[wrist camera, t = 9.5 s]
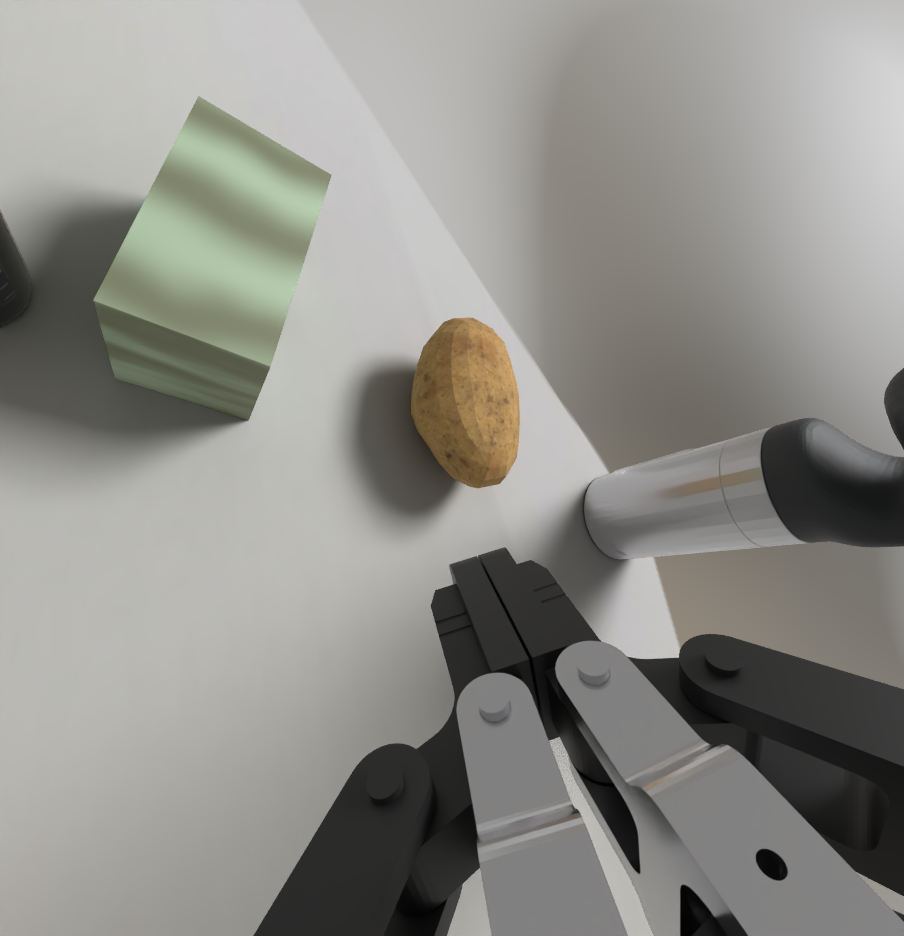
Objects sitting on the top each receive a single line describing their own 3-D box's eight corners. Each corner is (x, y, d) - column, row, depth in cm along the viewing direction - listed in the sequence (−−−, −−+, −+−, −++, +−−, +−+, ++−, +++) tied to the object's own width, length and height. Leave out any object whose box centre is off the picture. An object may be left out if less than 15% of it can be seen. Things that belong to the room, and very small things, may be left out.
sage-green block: (248, 421, 32) (270, 366, 24) (114, 379, 28) (93, 300, 21) (300, 260, 37) (331, 175, 30) (193, 207, 33) (198, 96, 26)
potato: (401, 501, 36) (451, 479, 30) (386, 343, 39) (428, 291, 33) (497, 498, 41) (558, 479, 35) (477, 358, 44) (530, 316, 38)
